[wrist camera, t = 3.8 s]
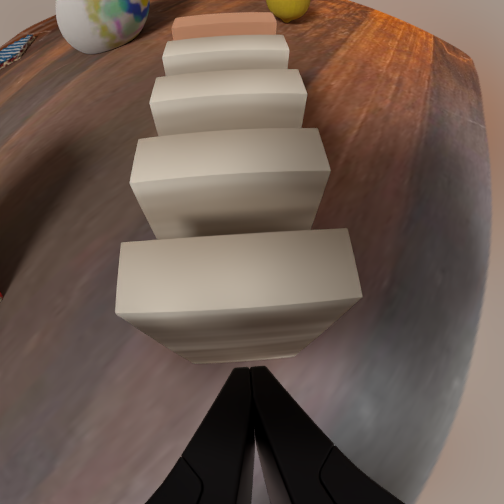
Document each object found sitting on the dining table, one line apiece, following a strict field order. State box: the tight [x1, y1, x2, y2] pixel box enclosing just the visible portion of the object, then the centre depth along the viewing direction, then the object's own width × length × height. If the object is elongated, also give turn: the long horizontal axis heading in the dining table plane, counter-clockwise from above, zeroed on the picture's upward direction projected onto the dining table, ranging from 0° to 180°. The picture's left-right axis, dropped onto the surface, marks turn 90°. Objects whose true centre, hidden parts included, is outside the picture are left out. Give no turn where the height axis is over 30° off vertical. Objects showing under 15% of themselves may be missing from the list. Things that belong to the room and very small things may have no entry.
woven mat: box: [0, 35, 35, 69], centre depth 34 cm, size 10×11×2 cm
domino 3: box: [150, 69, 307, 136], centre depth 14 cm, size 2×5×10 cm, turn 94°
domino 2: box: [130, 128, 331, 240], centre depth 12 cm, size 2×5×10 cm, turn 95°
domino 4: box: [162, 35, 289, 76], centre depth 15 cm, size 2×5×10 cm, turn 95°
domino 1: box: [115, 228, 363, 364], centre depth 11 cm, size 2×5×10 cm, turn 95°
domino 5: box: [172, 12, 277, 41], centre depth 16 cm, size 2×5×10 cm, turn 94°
